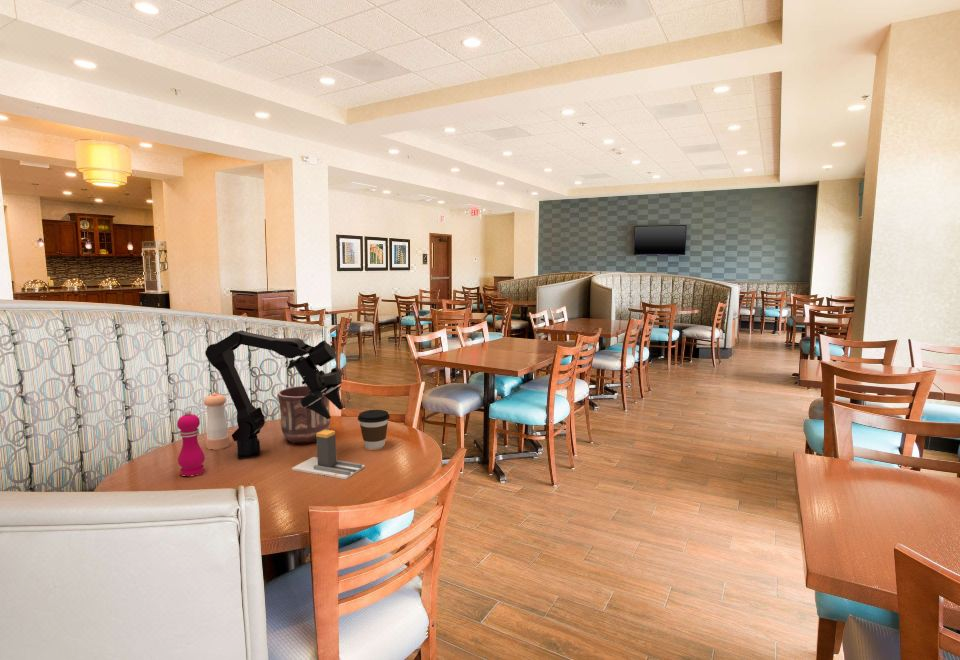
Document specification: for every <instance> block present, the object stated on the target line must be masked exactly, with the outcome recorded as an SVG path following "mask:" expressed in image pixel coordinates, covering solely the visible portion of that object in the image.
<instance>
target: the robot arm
mask: <svg viewBox="0 0 960 660" xmlns="http://www.w3.org/2000/svg"><path fill="white" fill-rule="evenodd" d="M241 345H244V346H249V347H252V348H253V347H254V348H258V349H263V350H266V351H267V350H268V351H272V352H275V353H276V354H278V355H279V356H281V357H284V358H287V359H290V360H289V361H288V362H289V363H288V366H287V369H288V370H290V369H292V368H295V369H296V371H297V373H298V374H299V376H300V377H301V378H302V381H301V384H302V385H305V386H307V387H308V388H309V390H310V392H309V394H308V395H307V396H305V397H303V398H302V399H301V401H300V403H301V405H302V407H303V408H304V407H306V406H307V405H309V406H308V407H306V408H307V409H308V408H309V409H311V410H313V411H315V412H316V413H318V414H320V415H321V416H323V417H325V418H326V419H330V420H331V414H330V411H329V412H328V410H327V408H326V406H325V405H324V397H323V398H321V397H322V394H323V393H327V394H325V396H326V397H327V398H328V399H329V402H330V403H332V404H333V405H334V406H335V407H336V408H337V409H338V410H340V411H341V410H343V409H344V408H343V404H342V400H341V399H342V398H341V396H340V390H341V387H342V384H343V382H342V381H343V380H342V376H343V372H342V371H341V370H340V368H339V367H334V368H332V369H331V370H330V371H328V372H327V373H325V371H324V370H319V368H318V367H323V366H324V365H326V364H327V363H329V362H331V361H334V359H336V358H337V353H336V350H335V349H334V347H333V346H331V345H330V344H329V343H328V342H327V341H326V340H322V341H319V342H318V344H316V345H314V346H312V345H309V344H307V343H305V342H304V340H303V339H301V338H297V337H285V338H282V337H281V338H280V337H274V336H268V335H263V334H258V333H254V332H253V333H252V332H249V331H245V330H243V329H242V330H236V331H234V332H232V333H231V334H229V335H228V336H226V337H225V338H224V339H221V340H220V341H218V342H216V343H212V344H209V345H208V346H207V347H206V350H205V353H204V354H205V357H206V359H207V360H208V361H209V363H210V365H211V366H212V367H213V368H215V369H216V370H217V371H218V372H219V374H220V376H221V378H222V381H223V382H224V385H225V387H226V389H227V391H228V395H229V396H230V399H231V400H232V402H233V404H234V405H233V406H234V407H235V410H236V423H237V426H238V428H237V429H236V430H235V431H234V432H232V434H231V438H232V441H233V442H236V449H237V452H236V454H237V456H236V457H237V459H238V460H239V459H240V460H241V459H247V458H255V457H259V456H260V453H261V445H260V438H258V434H260V432H261V430H262V429H263V427H264V426H265V423H266V421H265V419H266V416H265V415H264V414H263V410H262V408H261V406H259V407H257V408H256V407H255V406H254V405H253V404H252V402H251V400H250V397H249V395H248V393H247V390H246V388H245V386H244V384H243V382H242V379H241V377H240V375H239V372H238V370H237V368H236V366H235V360H236V357H235V356H236V355H235V352H234V351H235V350H237V349H238V348H239V347H241ZM296 357H298V358H296ZM295 358H296V359H295Z"/></svg>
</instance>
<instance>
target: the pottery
mask: <svg viewBox="0 0 960 660" xmlns="http://www.w3.org/2000/svg"><path fill="white" fill-rule="evenodd" d="M309 392H310V390H309V388H308V387H307V385H301V386H293V387H287V388H284V389H282V390H280V391H278V392H277V398H278V404H279V411H280V412H279V413H280V427H281V428H280V429H281V431H282V434H283V436H284V438H285V439H286V440H287V441H288V442H289V443H291V442H292V444H295V443H300V444H299V445H302V444H301V443H307V444H312V443H311V442H313V443H316V442H317V439H316V433H318V432H320V431H322V430H330V425H331V424H330V421H331V418H330V419H326V418H325V417H323V416H321V415H320V414H318V413H316V412H315V411H313V410H311V409H309V408H308V409H307V408H306V407H308V406H309V405H307V406H306V407H304V408H303V407H302V405H301V403H300V401H301V399H302V398H303V397H305V396H307V395H308V394H309ZM325 394H327V393H323V394H322V397H321V398H323V397H324V405H325V406H326V408H327V410H328V412H329V413H330V400H329V399H328V398H327V397H326V396H325ZM315 441H316V442H315Z"/></svg>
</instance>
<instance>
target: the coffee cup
mask: <svg viewBox="0 0 960 660" xmlns="http://www.w3.org/2000/svg"><path fill="white" fill-rule="evenodd" d="M390 417H391V415H390V413H389V412H388V411H387V410H383V409H369V410H364V411H362V412H360V413H359V414H358V416H357V421H359V426H360V431H361V437H362V440H363V443H364V447H365V448H367V449H366V450H368V449H372V450H371V451H375V450H374V449H378V450H380V448H381V449H383V448H384V447H383V446H385V443H386V439H387V431H388V420H389V419H390ZM382 447H383V448H382Z"/></svg>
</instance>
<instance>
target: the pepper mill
mask: <svg viewBox="0 0 960 660" xmlns="http://www.w3.org/2000/svg"><path fill="white" fill-rule="evenodd" d="M183 413H184V415H182V416H180V417H179V418H178V420H177V424H176V425H177V429H179V430H180V431H179V436H180V437H181V440H182V446H181V449H180V451H179V454H178V457H177V463H178V465H179V466H180V467H181V468H180V475H181V474H182V475H185V476H191V475H196V476H198V475H197V474H199V475H201V474H204V472H205V466H204V464H203V463H204V461H205V460H206V457H205V453H204V451H203V449H202V447H201V446H200V445H199V441H198V435H199V434H200V432H199V426H200V423H201V421H200V420H201V419H200V418H199V416H198V415H196V414H193V413H192V410H191V409H185V411H184V412H183Z"/></svg>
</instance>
